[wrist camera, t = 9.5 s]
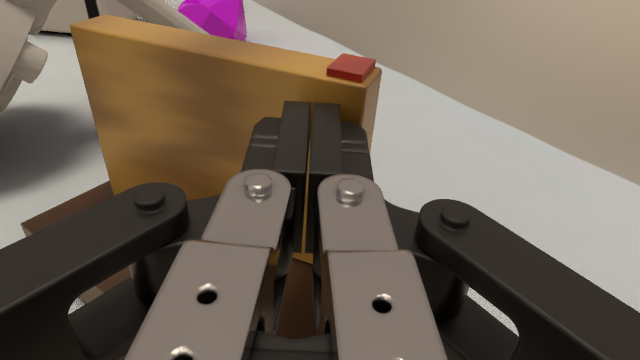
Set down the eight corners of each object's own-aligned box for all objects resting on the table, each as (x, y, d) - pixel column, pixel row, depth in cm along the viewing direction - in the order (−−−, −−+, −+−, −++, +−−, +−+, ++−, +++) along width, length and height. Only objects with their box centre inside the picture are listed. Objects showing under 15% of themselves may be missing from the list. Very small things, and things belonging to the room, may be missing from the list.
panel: (-36, 279, 17) (-60, 236, 16) (231, 139, 27) (229, 106, 25) (234, 562, 10) (229, 529, 9) (455, 242, 20) (467, 205, 19)
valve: (180, 275, 30) (327, 109, 26) (-276, 163, 16) (-98, -212, 13) (157, 183, 37) (270, 42, 33) (-175, 51, 23) (-43, -210, 20)
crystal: (194, 35, 42) (189, -17, 40) (250, 39, 42) (249, -12, 40) (176, 52, 38) (169, -4, 35) (239, 58, 38) (236, 1, 35)
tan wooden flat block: (113, 198, 18) (65, 16, 14) (140, 178, 19) (103, 6, 15) (342, 275, 15) (367, 77, 11) (356, 246, 17) (384, 58, 12)
